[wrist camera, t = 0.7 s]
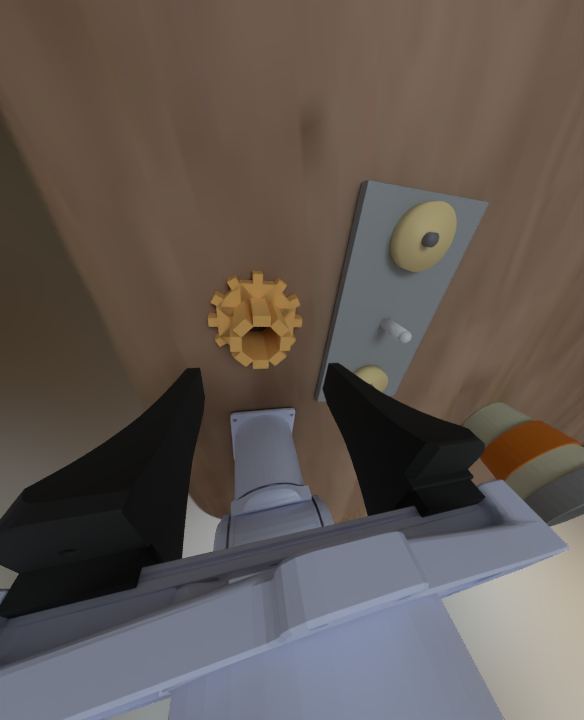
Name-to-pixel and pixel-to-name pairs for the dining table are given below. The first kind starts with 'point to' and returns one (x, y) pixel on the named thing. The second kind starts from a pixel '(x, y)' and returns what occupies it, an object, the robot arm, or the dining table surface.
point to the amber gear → (255, 320)
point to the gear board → (395, 278)
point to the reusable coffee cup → (532, 461)
